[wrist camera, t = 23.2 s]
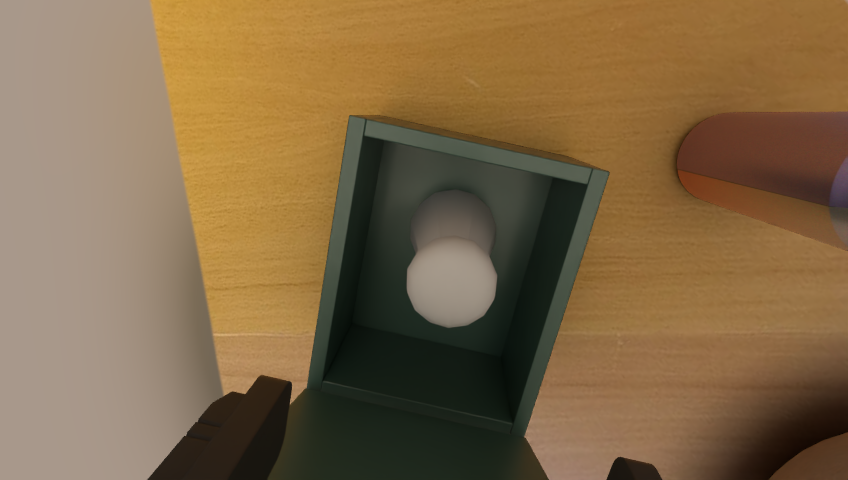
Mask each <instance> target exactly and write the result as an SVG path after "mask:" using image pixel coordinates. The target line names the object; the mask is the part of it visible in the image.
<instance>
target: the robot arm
mask: <svg viewBox="0 0 848 480" xmlns="http://www.w3.org/2000/svg"><path fill="white" fill-rule="evenodd" d="M291 391H292V383H291V382H290V381H286V380H281V379H277V378H273V377H268V376H264V375H261V376H259V377H258V378H257V380H256V381H255V382H254V384H253V385H252V386H251V388H250V389H249V390H248V392H247V393H246V394H242V393H237V392H233V391H232V392H230V393H229V394H227V395H225V396H223V397H222V398H220V399H219V400H217V401H215V402H213V403H212V404H211V405H210V406H209V407H208V409H207V410H206V411H205V412H204V413H203V414H202V416H201V417H200V418H199V420H198V422H196V423H195V424H194V425H193V426H192V427H191V429H190V430H189V431H188V432H187V435H186V436H184V437H183V438H182V440H181V441H180V442H179V443H178V444H177V445H176V446H175V448H174V449H173V450H172V451H171V452H170V454H169V455H168V456H167V457H166V458H165V459H164V461H163V462H162V463H161V464H160V465H159V467H158V468H157V469H156V470H155V471H154V472H153V474H152V475H151V476H150V477H149V478H148V480H267V478H268V477H269V475H270V473H271V471H272V469H273V467H274V465H275V463H276V461H277V459H278V457H279V454H280V451H281V448H282V445H283V442H284V438H285V433H286V426H287V419H288V412H289V405H290V398H291ZM607 480H662V478H661V476H660V475H659V473H658V471H657V469H656V468H655V467H654V466H653V465H652V464H649V463H645V462H640V461H636V460H631V459H627V458H623V457H618V458H617V459H616V460H615V461H614V463H613V465H612V467H611V470H610V472H609V475H608V477H607Z"/></svg>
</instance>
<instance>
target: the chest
mask: <svg viewBox="0 0 848 480" xmlns="http://www.w3.org/2000/svg"><path fill="white" fill-rule="evenodd" d="M608 176H609V171H606V170H603V169H601V168H598V167H595V166H593V165H590V164H587V163H585V162H582V161H579V160H577V159H574V158H571V157H568V156H564V155H559V154H555V153H550V152H545V151H541V150H536V149H532V148H527V147H523V146H518V145H513V144H509V143H504V142H500V141H495V140H490V139H486V138H481V137H477V136H472V135H467V134H463V133H458V132H454V131H449V130H445V129H440V128H435V127H431V126H426V125H422V124H417V123H412V122H408V121H403V120H399V119H394V118H389V117H385V116H380V115H350V116H349V121H348V127H347V134H346V140H345V146H344V153H343V159H342V165H341V172H340V178H339V185H338V191H337V197H336V204H335V210H334V217H333V223H332V229H331V236H330V242H329V249H328V255H327V261H326V268H325V274H324V280H323V287H322V293H321V300H320V306H319V312H318V319H317V325H316V332H315V338H314V344H313V351H312V357H311V364H310V370H309V376H308V383H307V389H311V390H316V391H320V392H324V393H329V394H333V395H338V396H342V397H347V398H351V399H355V400H360V401H364V402H369V403H373V404H378V405H382V406H386V407H391V408H395V409H400V410H404V411H409V412H413V413H417V414H422V415H426V416H431V417H435V418H440V419H444V420H448V421H453V422H457V423H462V424H466V425H471V426H475V427H479V428H484V429H488V430H493V431H497V432H502V433H506V434H510V435H515V436H519V437H524V436H525V433H526V430H527V427H528V423H529V420H530V417H531V414H532V411H533V408H534V405H535V402H536V399H537V396H538V393H539V389H540V386H541V383H542V380H543V377H544V374H545V371H546V368H547V365H548V362H549V359H550V355H551V352H552V349H553V346H554V343H555V340H556V337H557V334H558V331H559V328H560V325H561V321H562V318H563V315H564V312H565V309H566V306H567V303H568V300H569V297H570V294H571V291H572V287H573V284H574V281H575V278H576V275H577V272H578V269H579V266H580V263H581V260H582V257H583V253H584V250H585V247H586V244H587V241H588V238H589V235H590V232H591V229H592V226H593V223H594V219H595V216H596V213H597V210H598V207H599V204H600V201H601V198H602V195H603V192H604V189H605V185H606V182H607V179H608ZM455 189H457V190H460V191H464V192H468V193H471V194H475V195H476V196H477V197H478V198H479V199H480V200H481V201H482V202H483V203H485V204H486V205H487V206H488V207H489V208H490V211H491V213H492V216H493V218H494V221H495V223H496V235H495V245H494V247H493V249H492V252H491V254H490V256H489V257H490V259H491V261H492V264H493V266H494V269H495V271H496V274H497V284H496V293H495V298H494V300H493V302H492V304H491V305H490V307H489V308H488V310H487V312H486V313H485V315H484V316H482V317H481V318H479V319H477V320H476V321H474V322H472V323H471V324H469V325H466V326H459V327H452V328H447V327H443V326H440V325H437V324H434V323H430V322H429V321H427V320H426V319H425V318H424V317H423V316H421V315H420V314H419V313H418V312H417V311H415V309H414V307H413V304H412V302H411V300H410V298H409V295H408V293H407V269H408V267H409V265H410V264H411V262H412V260H413V258H414V257H415V255H416V253H415V250H414V247H413V245H412V242H411V239H410V232H411V219H412V217H413V215H414V214H415V212H416V210H417V209H418V207H419V205H420V204H421V203H422V202H423V201H425V200H426V199H427V198H429V197H430V196H431V195H433V194H434V193H436V192H440V191H448V190H455Z"/></svg>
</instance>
